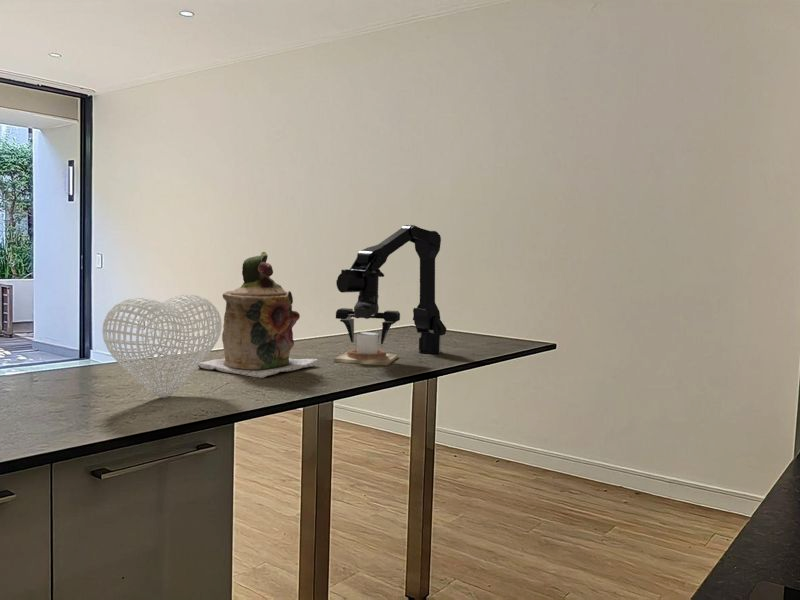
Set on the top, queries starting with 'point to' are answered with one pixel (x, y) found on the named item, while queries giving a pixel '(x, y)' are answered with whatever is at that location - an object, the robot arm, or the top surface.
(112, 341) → the heart
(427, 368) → the top surface
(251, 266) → the cookie jar
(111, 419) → the top surface
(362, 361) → the collar board
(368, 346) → the white cylinder
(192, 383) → the top surface
